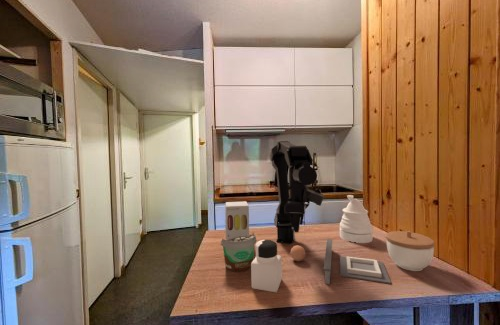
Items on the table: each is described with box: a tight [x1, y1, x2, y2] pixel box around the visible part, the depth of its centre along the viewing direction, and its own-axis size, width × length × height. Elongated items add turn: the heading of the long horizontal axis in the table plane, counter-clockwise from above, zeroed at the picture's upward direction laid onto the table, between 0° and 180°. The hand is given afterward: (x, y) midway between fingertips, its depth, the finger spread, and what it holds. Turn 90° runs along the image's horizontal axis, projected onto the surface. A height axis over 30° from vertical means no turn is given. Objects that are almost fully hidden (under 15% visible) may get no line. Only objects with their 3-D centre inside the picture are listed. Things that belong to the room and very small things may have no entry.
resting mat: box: [339, 255, 392, 285], centre depth 72 cm, size 13×13×2 cm
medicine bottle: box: [250, 239, 283, 293], centre depth 65 cm, size 7×7×12 cm
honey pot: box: [339, 194, 373, 244], centre depth 99 cm, size 13×13×18 cm
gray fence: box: [323, 238, 333, 286], centre depth 75 cm, size 2×24×4 cm, turn 159°
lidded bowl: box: [385, 230, 435, 272], centre depth 73 cm, size 13×13×11 cm
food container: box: [220, 232, 258, 273], centre depth 74 cm, size 12×6×10 cm, turn 117°
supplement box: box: [224, 200, 250, 240], centre depth 95 cm, size 10×9×17 cm
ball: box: [290, 245, 306, 262], centre depth 79 cm, size 5×5×5 cm
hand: (298, 228), depth 79 cm, fingers open, 9 cm apart
